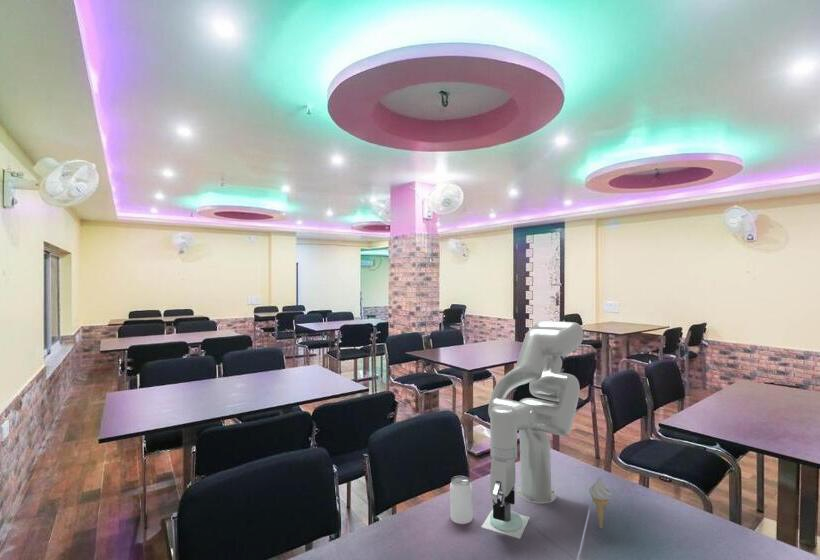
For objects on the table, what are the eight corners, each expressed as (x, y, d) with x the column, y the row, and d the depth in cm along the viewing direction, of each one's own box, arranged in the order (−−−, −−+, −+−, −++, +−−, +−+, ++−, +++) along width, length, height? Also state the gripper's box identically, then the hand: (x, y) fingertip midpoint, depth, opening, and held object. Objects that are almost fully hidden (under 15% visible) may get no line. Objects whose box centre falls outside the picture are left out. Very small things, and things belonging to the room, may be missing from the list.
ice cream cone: (610, 524, 116) (609, 472, 116) (613, 536, 111) (612, 481, 111) (589, 521, 118) (588, 470, 118) (591, 532, 113) (589, 479, 113)
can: (472, 528, 116) (471, 486, 116) (449, 526, 117) (448, 484, 117) (473, 515, 122) (472, 475, 122) (451, 513, 124) (450, 474, 124)
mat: (493, 510, 125) (493, 507, 125) (529, 520, 119) (529, 517, 119) (481, 530, 115) (481, 526, 115) (519, 542, 110) (519, 538, 109)
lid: (495, 510, 123) (495, 493, 123) (525, 518, 119) (525, 501, 119) (485, 526, 115) (485, 508, 115) (517, 535, 111) (516, 517, 111)
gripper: (500, 438, 126) (500, 494, 126) (480, 459, 111) (481, 522, 111) (524, 443, 122) (525, 500, 122) (507, 465, 107) (508, 530, 107)
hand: (504, 510), depth 116 cm, fingers open, 9 cm apart
